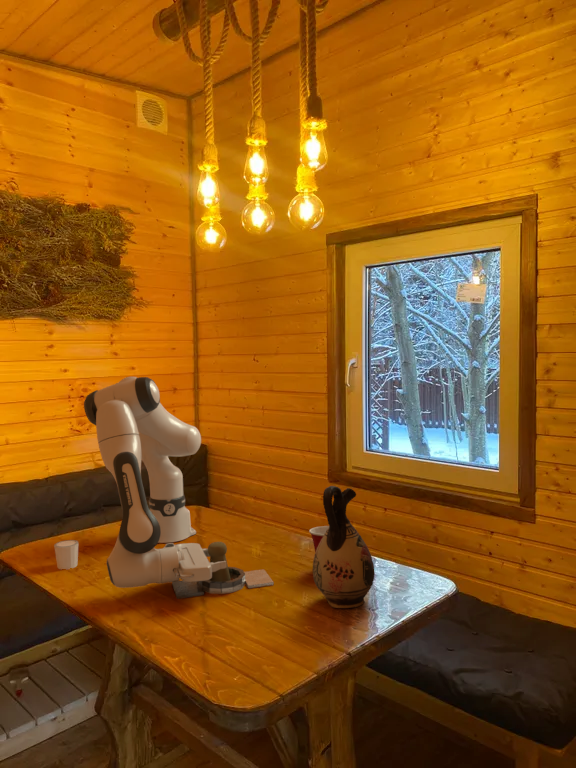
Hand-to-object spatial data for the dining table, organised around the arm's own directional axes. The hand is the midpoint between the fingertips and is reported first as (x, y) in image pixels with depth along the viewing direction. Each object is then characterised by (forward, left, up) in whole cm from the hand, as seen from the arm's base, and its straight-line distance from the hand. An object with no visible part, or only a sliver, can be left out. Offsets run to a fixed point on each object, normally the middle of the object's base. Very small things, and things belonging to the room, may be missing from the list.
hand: (222, 558), depth 168 cm
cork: (-2, 0, -7) cm, 8 cm away
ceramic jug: (+22, +26, -8) cm, 35 cm away
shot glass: (-31, -41, -8) cm, 52 cm away
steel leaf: (0, +3, -7) cm, 8 cm away
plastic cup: (0, +31, -8) cm, 32 cm away
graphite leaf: (0, -4, -7) cm, 8 cm away
